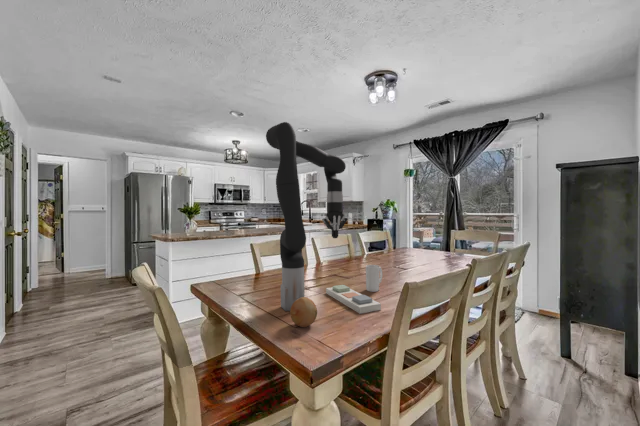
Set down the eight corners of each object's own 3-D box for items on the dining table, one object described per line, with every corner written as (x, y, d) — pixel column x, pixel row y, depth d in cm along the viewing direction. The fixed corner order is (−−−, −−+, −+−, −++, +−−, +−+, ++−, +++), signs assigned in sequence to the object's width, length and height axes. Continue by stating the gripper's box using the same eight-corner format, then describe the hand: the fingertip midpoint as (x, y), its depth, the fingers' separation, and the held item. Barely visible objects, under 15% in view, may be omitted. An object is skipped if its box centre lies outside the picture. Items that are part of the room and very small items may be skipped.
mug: (371, 292, 143) (371, 268, 143) (362, 289, 149) (362, 265, 149) (387, 289, 148) (387, 265, 148) (377, 286, 154) (377, 263, 154)
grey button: (360, 305, 119) (360, 300, 119) (352, 301, 124) (352, 296, 124) (372, 303, 121) (372, 298, 121) (364, 299, 127) (364, 294, 127)
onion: (315, 332, 99) (315, 302, 99) (286, 330, 100) (286, 301, 100) (319, 321, 108) (319, 294, 108) (293, 319, 110) (293, 293, 110)
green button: (338, 293, 135) (338, 289, 135) (332, 290, 141) (332, 286, 141) (349, 291, 138) (349, 287, 138) (343, 288, 143) (343, 284, 143)
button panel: (359, 313, 115) (359, 307, 115) (326, 293, 143) (326, 288, 143) (380, 309, 120) (380, 303, 120) (344, 290, 147) (344, 285, 147)
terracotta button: (348, 302, 127) (348, 297, 127) (341, 298, 133) (341, 293, 133) (360, 300, 130) (360, 295, 130) (353, 296, 135) (353, 292, 135)
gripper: (325, 201, 133) (326, 239, 133) (351, 201, 139) (351, 238, 139) (318, 201, 140) (319, 238, 140) (343, 201, 145) (343, 236, 146)
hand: (335, 238), depth 140 cm, fingers closed
